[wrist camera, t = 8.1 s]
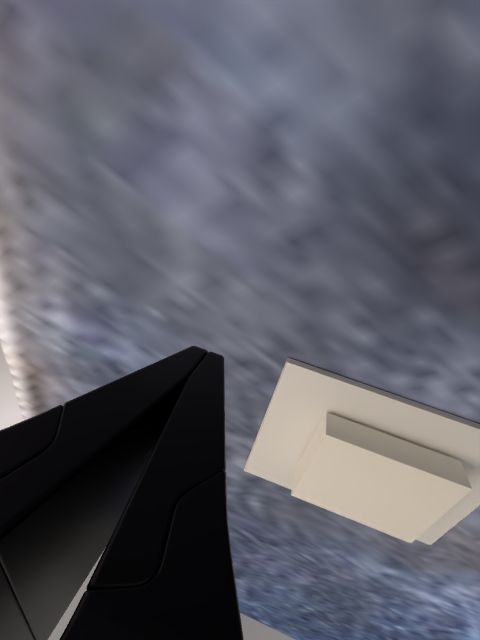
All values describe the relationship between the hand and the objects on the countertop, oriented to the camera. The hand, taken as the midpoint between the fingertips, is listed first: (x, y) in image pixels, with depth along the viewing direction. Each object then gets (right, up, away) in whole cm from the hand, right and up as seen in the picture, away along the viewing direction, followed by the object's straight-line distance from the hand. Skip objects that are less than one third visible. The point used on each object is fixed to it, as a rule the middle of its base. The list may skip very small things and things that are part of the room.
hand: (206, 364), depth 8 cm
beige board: (+11, -10, +17) cm, 23 cm away
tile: (+6, -10, +16) cm, 20 cm away
